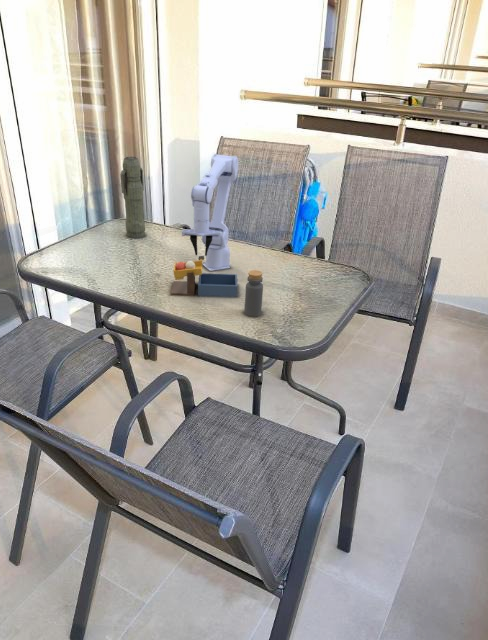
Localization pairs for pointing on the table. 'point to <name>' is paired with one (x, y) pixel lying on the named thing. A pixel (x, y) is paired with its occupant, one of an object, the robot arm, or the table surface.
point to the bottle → (254, 294)
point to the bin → (217, 285)
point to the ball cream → (190, 265)
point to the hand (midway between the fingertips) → (201, 254)
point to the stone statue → (133, 197)
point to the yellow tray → (182, 273)
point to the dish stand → (184, 286)
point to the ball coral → (180, 266)
